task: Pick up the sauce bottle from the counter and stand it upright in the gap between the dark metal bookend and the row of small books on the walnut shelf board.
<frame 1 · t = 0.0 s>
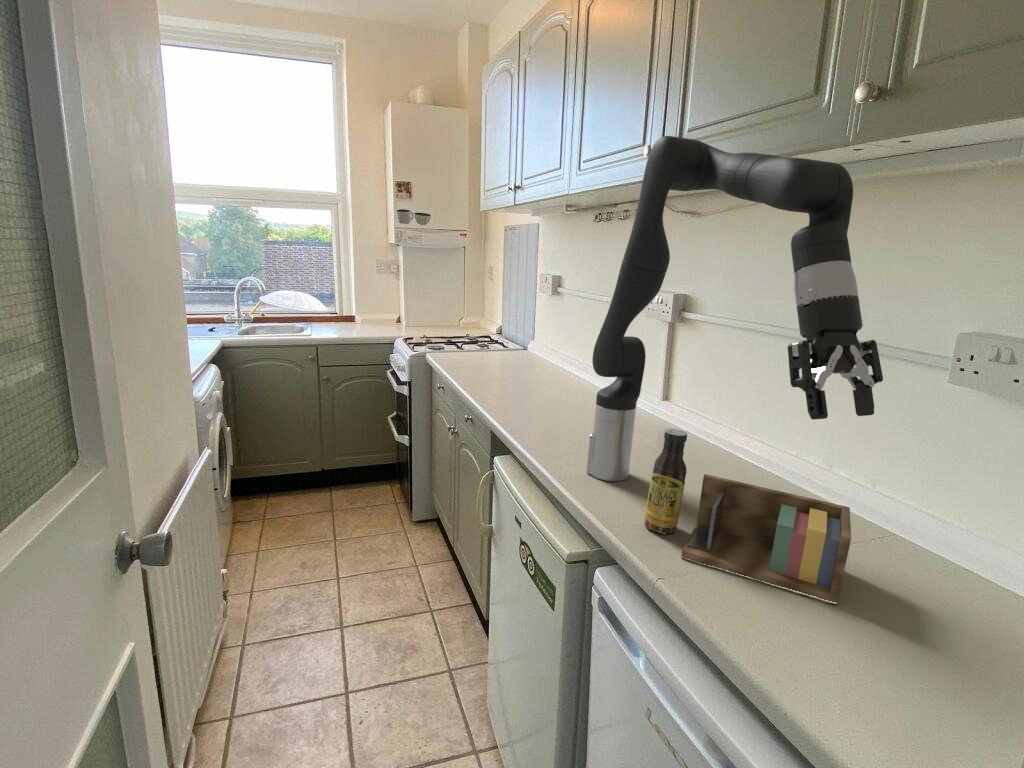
hand: (842, 417, 76), 31 cm above the worktop, tool tilted 20°, fingers open, 8 cm apart
shelf: (758, 562, 99), on the worktop
sauce bottle: (660, 529, 109), on the worktop
book row: (804, 542, 94), point 6 cm above the worktop
bookend: (706, 517, 102), point 6 cm above the worktop
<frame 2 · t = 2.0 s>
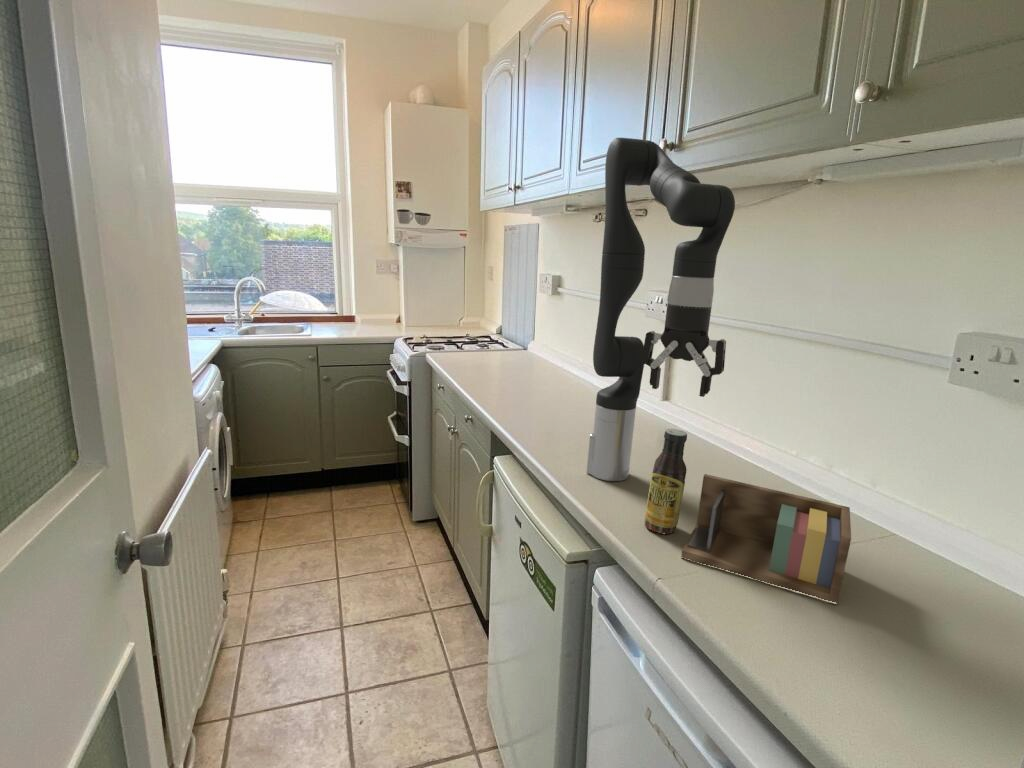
hand: (678, 391, 103), 27 cm above the worktop, tool pointing down, fingers open, 8 cm apart
nothing on the worktop moved.
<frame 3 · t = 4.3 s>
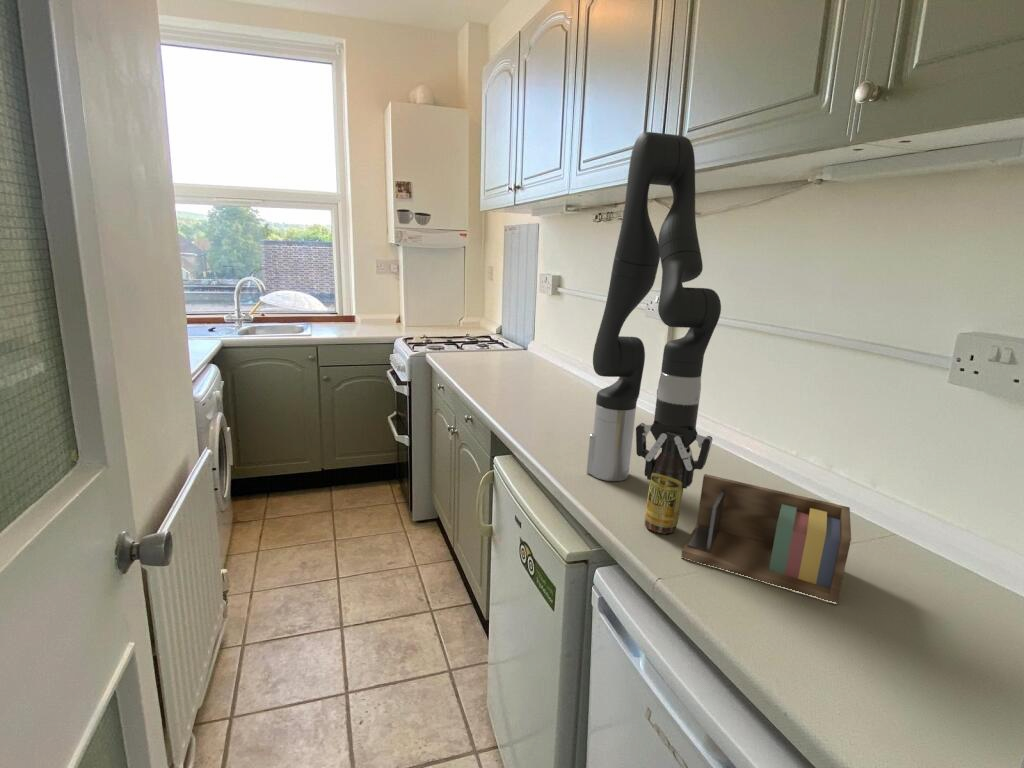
hand: (667, 482, 107), 10 cm above the worktop, tool pointing down, fingers closed on sauce bottle, 6 cm apart
sauce bottle: (660, 529, 109), on the worktop, touching gripper
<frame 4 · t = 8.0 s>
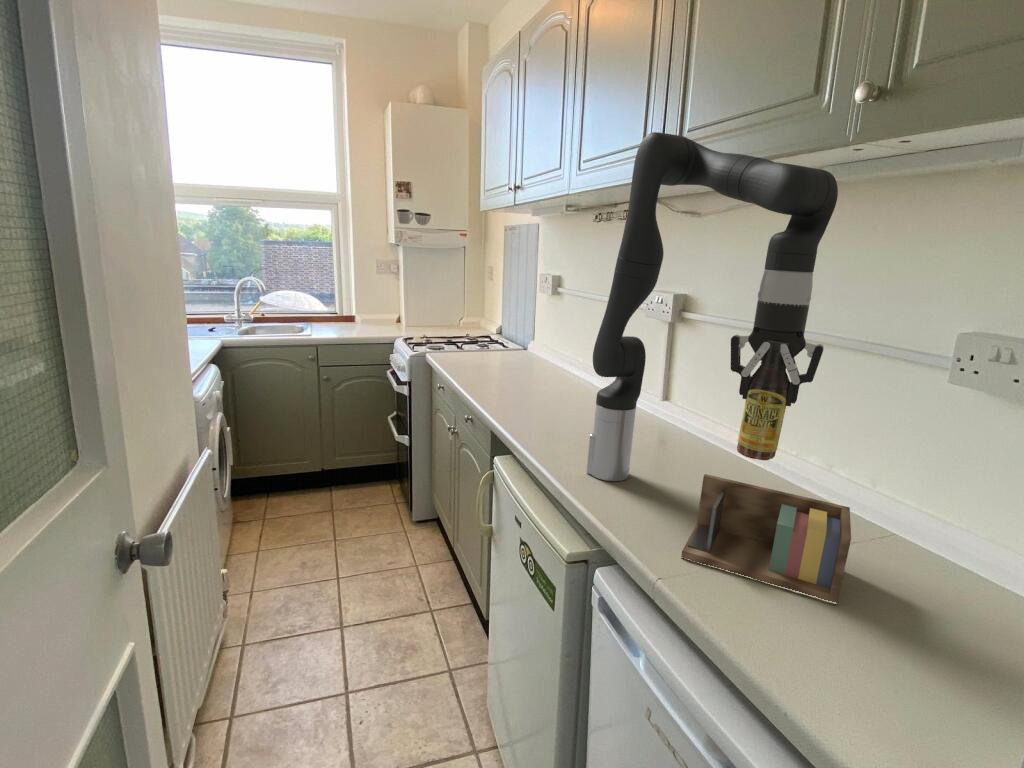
hand: (766, 401, 93), 29 cm above the worktop, tool pointing down, fingers closed on sauce bottle, 6 cm apart
sauce bottle: (756, 456, 96), point 19 cm above the worktop, touching gripper
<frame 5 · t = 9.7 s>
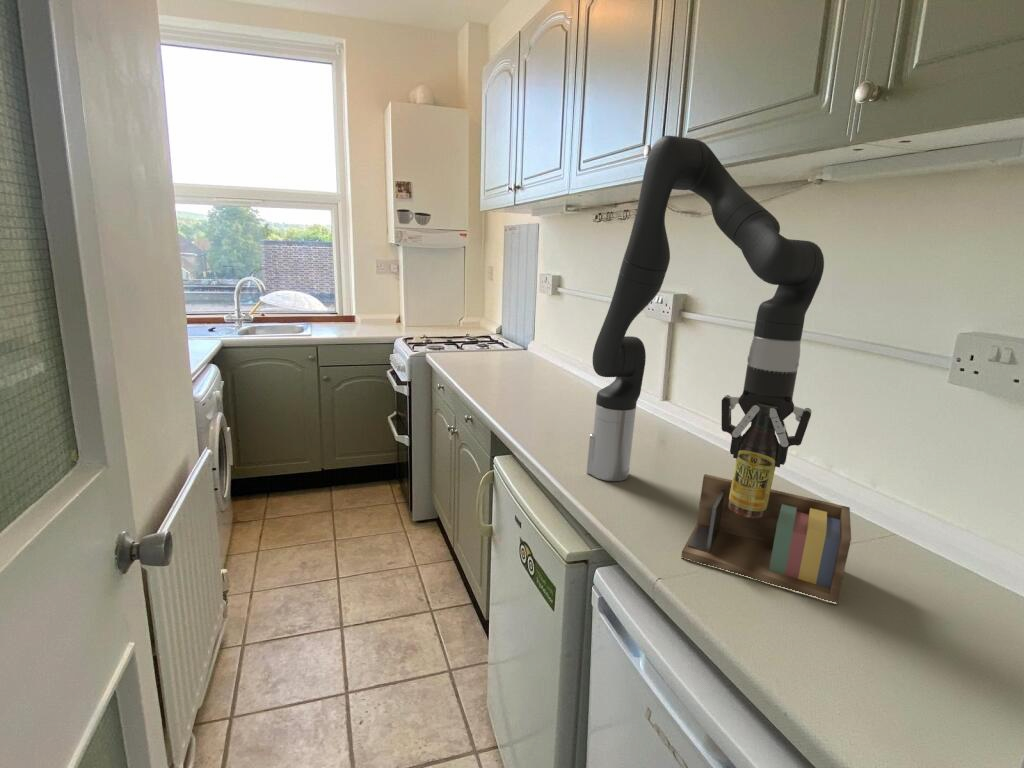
hand: (756, 461, 96), 18 cm above the worktop, tool pointing down, fingers closed on sauce bottle, 6 cm apart
sauce bottle: (747, 513, 98), point 8 cm above the worktop, touching gripper
when the fingers open (12 cm above the worktop, at t = 11.4 s): sauce bottle drops 1 cm, resting on shelf.
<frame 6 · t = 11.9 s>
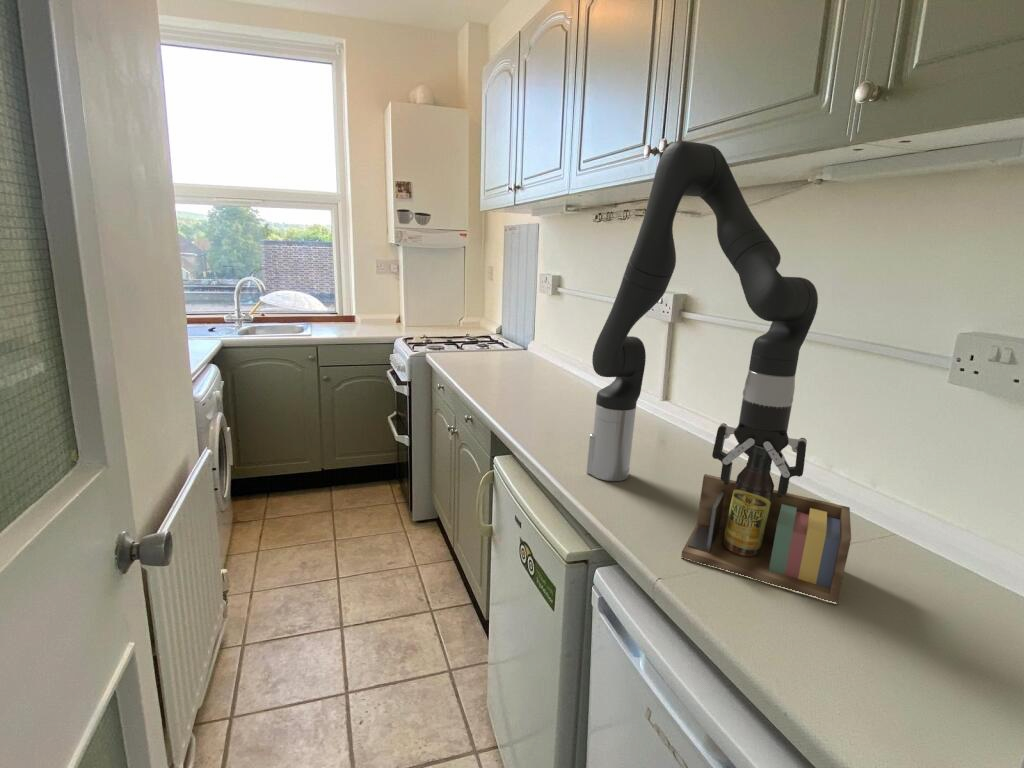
hand: (752, 489, 97), 13 cm above the worktop, tool pointing down, fingers open, 8 cm apart
sauce bottle: (741, 550, 100), point 1 cm above the worktop, touching shelf
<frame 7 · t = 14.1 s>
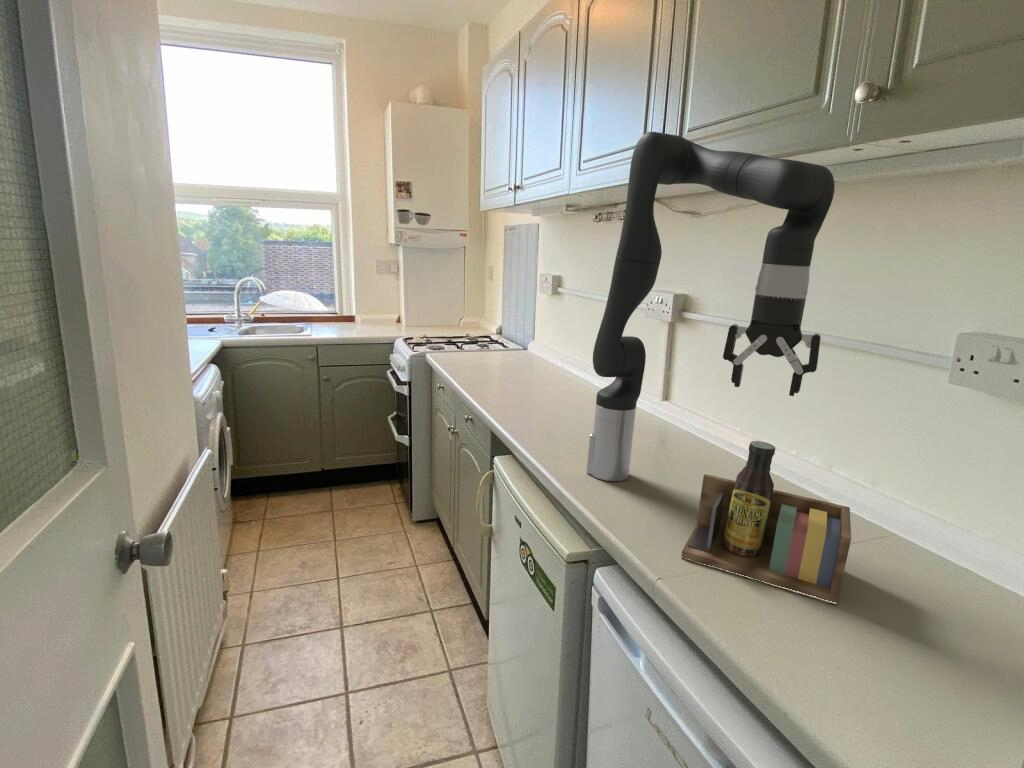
hand: (763, 390, 95), 30 cm above the worktop, tool pointing down, fingers open, 8 cm apart
nothing on the worktop moved.
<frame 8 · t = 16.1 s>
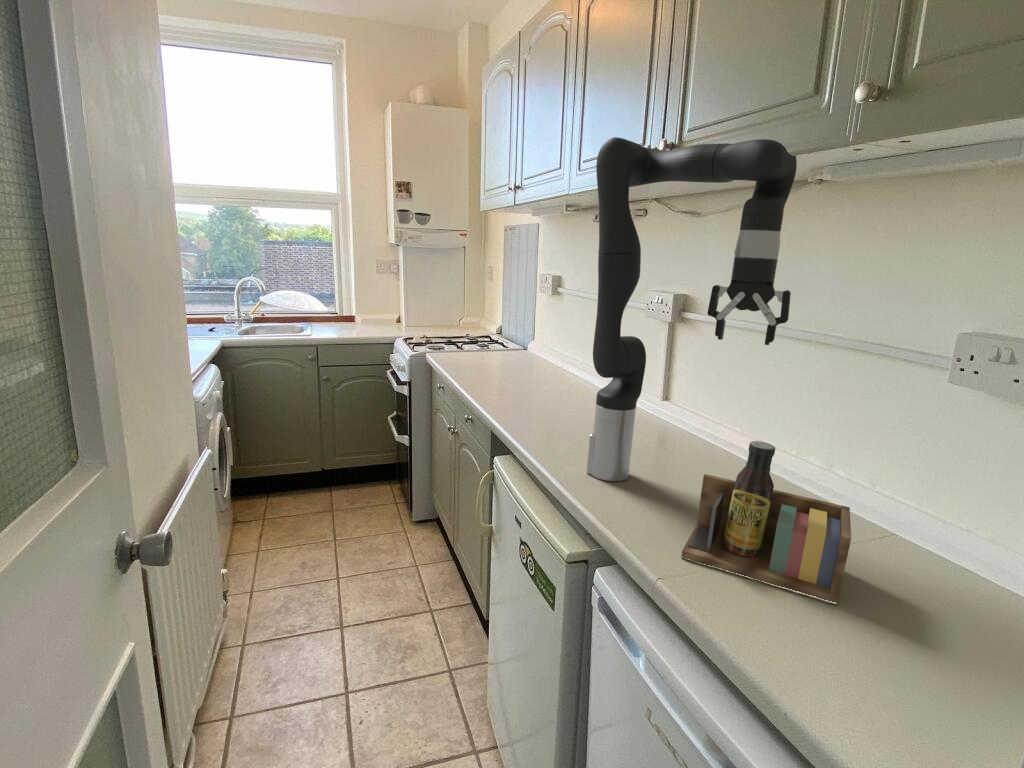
hand: (743, 341, 109), 36 cm above the worktop, tool pointing down, fingers open, 8 cm apart
nothing on the worktop moved.
at the end: sauce bottle inside the target area on the shelf (0.1 cm from its centre), point 1.3 cm above the shelf's base; sauce bottle tilted 0°; the gripper is holding nothing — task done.
